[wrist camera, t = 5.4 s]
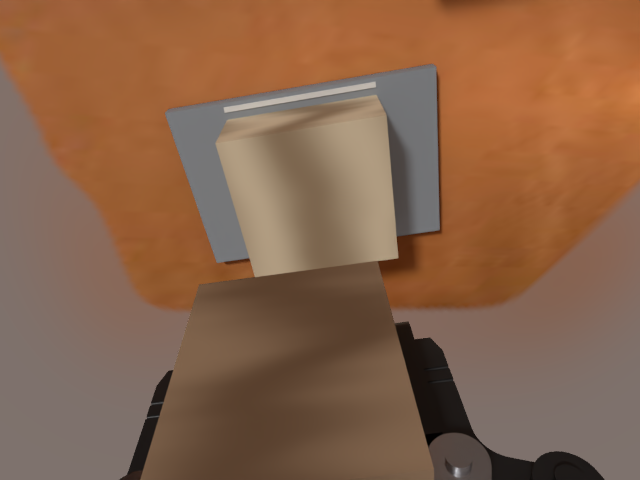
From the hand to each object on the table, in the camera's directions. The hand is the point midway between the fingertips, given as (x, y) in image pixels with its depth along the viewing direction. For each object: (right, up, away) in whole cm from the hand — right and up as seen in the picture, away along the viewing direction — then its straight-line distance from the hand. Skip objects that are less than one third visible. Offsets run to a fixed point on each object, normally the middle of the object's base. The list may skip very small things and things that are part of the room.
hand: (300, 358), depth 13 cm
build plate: (0, +8, +17) cm, 18 cm away
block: (0, 0, +1) cm, 1 cm away
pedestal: (0, +8, +16) cm, 18 cm away
